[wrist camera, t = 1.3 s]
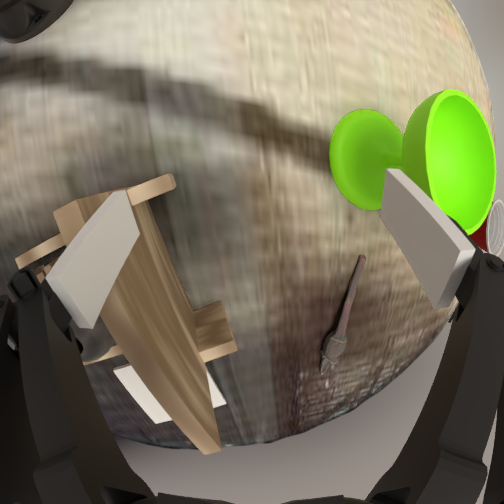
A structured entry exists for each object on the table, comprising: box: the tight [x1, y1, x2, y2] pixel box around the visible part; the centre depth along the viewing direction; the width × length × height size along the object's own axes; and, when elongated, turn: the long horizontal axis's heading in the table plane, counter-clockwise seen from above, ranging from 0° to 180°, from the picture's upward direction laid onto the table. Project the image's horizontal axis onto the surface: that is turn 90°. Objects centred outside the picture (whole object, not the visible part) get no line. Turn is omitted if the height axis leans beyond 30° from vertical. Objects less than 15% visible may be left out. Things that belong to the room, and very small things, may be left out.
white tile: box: [113, 363, 226, 424], centre depth 40 cm, size 14×14×1 cm
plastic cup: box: [469, 199, 504, 256], centre depth 40 cm, size 11×11×12 cm
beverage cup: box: [69, 315, 115, 362], centre depth 24 cm, size 7×7×20 cm
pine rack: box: [15, 173, 238, 455], centre depth 23 cm, size 24×20×22 cm
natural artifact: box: [320, 255, 366, 375], centre depth 43 cm, size 4×23×4 cm
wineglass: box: [329, 89, 496, 235], centre depth 29 cm, size 16×16×18 cm
